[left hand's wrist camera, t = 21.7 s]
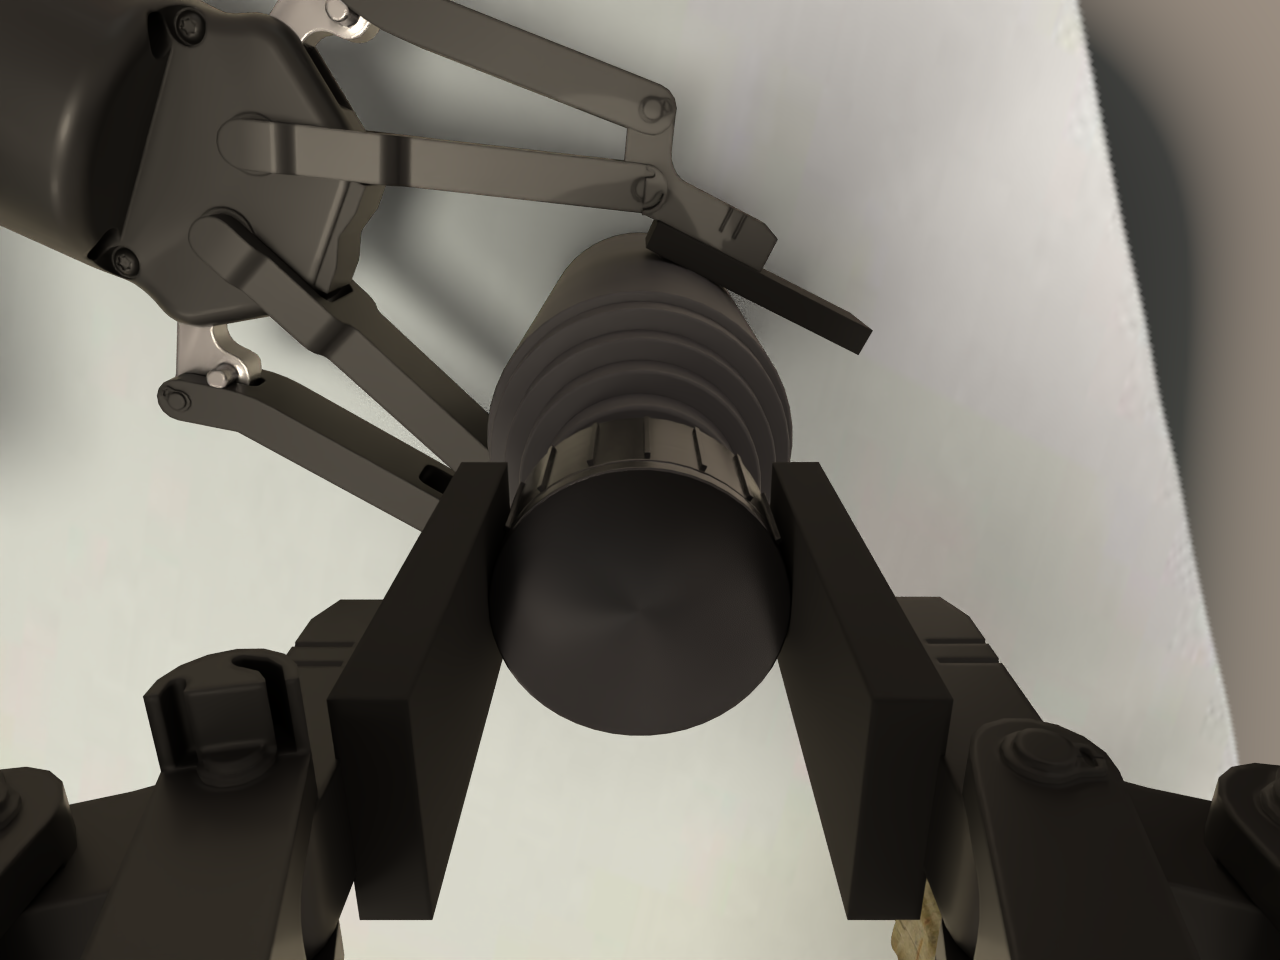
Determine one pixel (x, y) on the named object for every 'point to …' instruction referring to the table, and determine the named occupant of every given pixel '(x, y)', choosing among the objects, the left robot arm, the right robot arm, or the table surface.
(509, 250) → the table surface
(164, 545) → the table surface
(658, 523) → the cap
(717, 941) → the table surface
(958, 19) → the table surface
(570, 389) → the bottle
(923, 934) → the sculpture
